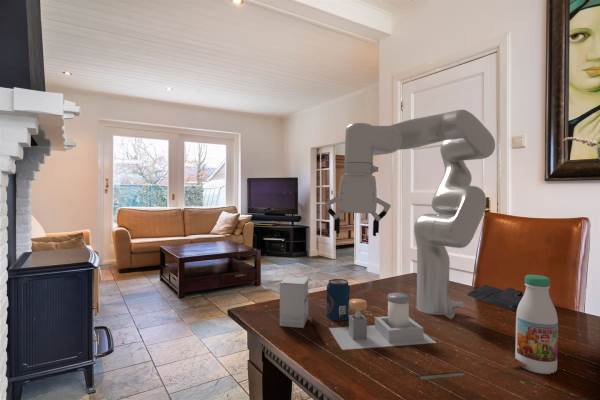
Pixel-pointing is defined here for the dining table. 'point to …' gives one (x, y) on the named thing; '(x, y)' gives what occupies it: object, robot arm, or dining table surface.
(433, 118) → the robot arm
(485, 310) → the dining table surface
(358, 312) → the brown egg
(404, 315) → the cartridge
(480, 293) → the dark slate chunk
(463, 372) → the mat
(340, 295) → the soda can
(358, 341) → the housing
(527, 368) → the milk bottle
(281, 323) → the supplement box
